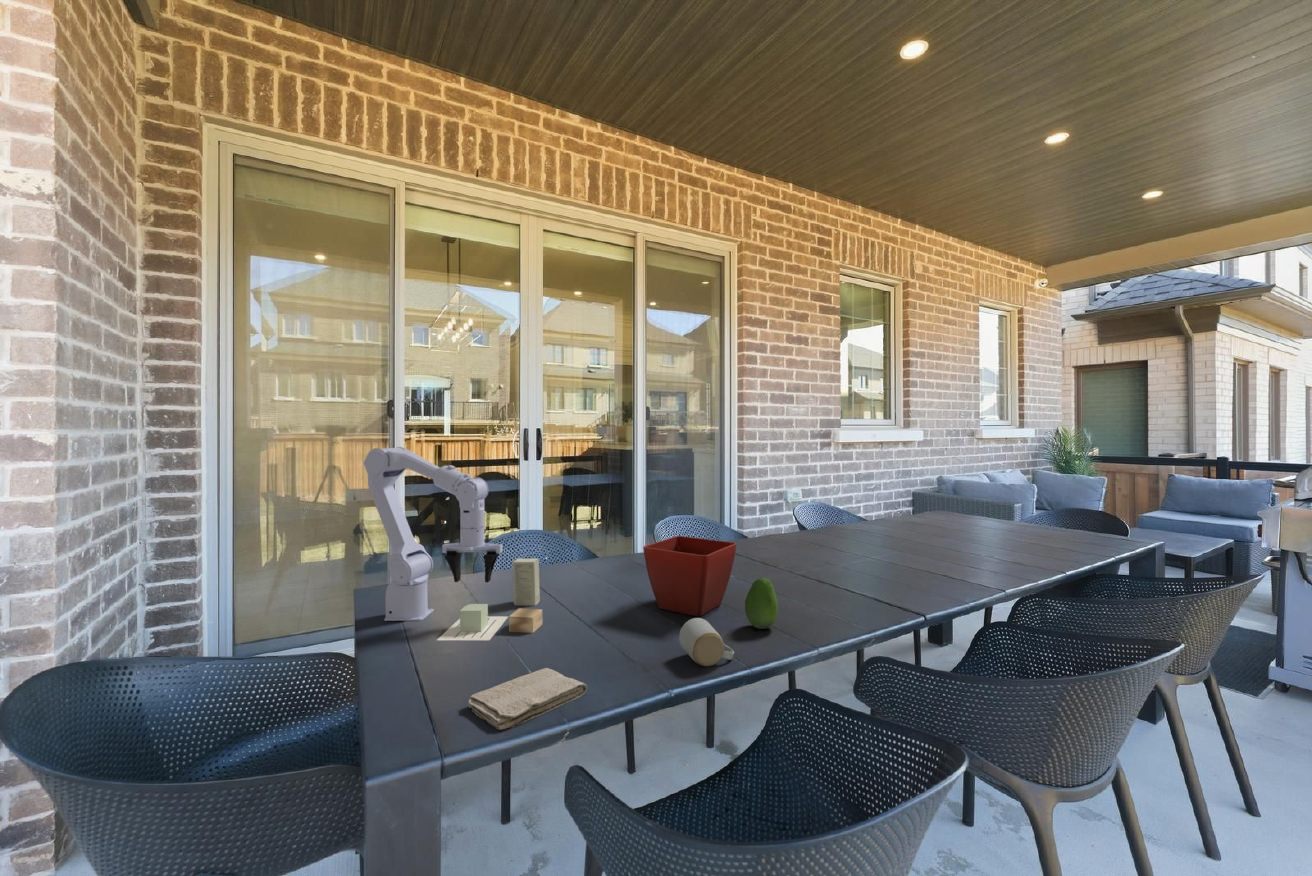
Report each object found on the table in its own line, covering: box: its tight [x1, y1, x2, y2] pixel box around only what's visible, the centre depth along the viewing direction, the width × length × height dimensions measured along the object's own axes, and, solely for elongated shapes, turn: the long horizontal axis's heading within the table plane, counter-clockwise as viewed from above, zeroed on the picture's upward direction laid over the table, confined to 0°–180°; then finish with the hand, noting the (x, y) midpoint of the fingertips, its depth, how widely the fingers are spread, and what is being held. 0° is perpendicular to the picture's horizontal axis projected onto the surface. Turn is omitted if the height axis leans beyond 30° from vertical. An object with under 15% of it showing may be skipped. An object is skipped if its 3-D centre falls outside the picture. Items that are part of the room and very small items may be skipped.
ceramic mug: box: [679, 617, 735, 667], centre depth 115 cm, size 11×8×8 cm
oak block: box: [508, 607, 543, 634], centre depth 133 cm, size 6×6×4 cm
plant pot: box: [642, 535, 737, 617], centre depth 149 cm, size 19×19×17 cm
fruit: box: [744, 577, 779, 630], centre depth 133 cm, size 8×8×12 cm
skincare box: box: [512, 557, 541, 607], centre depth 152 cm, size 6×4×12 cm
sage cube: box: [459, 603, 489, 632], centre depth 133 cm, size 5×5×5 cm
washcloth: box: [467, 667, 588, 731], centre depth 98 cm, size 12×18×3 cm, turn 138°
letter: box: [436, 615, 510, 642], centre depth 133 cm, size 12×16×1 cm
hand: (472, 581), depth 138 cm, fingers open, 7 cm apart
